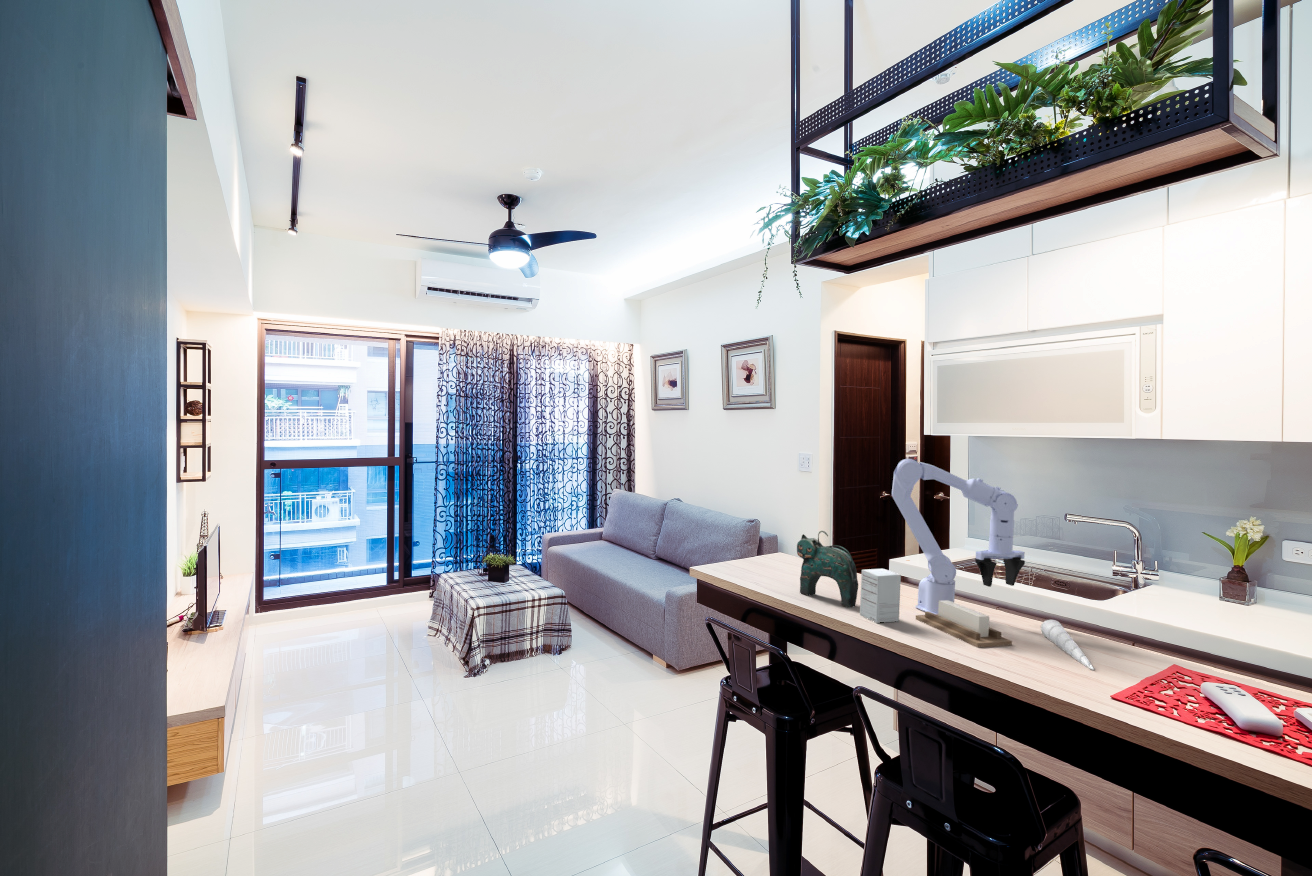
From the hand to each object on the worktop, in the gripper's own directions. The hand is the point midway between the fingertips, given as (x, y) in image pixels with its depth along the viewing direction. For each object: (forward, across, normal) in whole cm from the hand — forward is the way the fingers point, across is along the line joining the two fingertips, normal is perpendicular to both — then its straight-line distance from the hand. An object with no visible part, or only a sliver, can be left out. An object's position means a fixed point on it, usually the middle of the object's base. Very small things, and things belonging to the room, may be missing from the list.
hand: (998, 585), depth 174 cm
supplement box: (+10, -33, +6) cm, 35 cm away
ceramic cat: (+10, -37, +26) cm, 46 cm away
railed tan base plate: (+9, -18, -7) cm, 21 cm away
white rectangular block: (+8, -18, -7) cm, 21 cm away
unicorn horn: (+10, -2, -24) cm, 26 cm away
